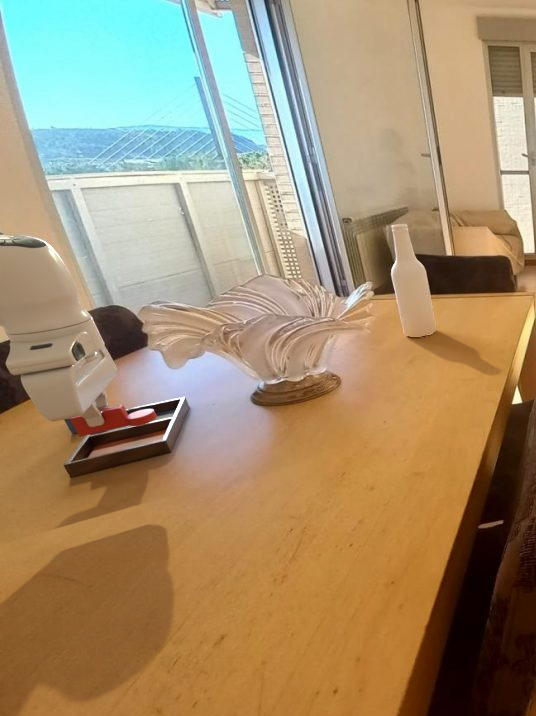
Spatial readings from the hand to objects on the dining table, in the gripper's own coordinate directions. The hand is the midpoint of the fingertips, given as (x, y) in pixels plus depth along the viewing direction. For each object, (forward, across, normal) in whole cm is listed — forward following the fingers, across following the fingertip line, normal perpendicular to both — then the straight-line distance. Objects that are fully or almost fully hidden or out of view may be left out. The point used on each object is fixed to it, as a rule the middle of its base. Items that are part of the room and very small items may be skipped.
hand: (101, 420), depth 78 cm
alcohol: (+7, -33, +57) cm, 66 cm away
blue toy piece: (+6, -19, -8) cm, 22 cm away
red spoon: (+2, 0, +2) cm, 2 cm away
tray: (+6, -5, +2) cm, 8 cm away
